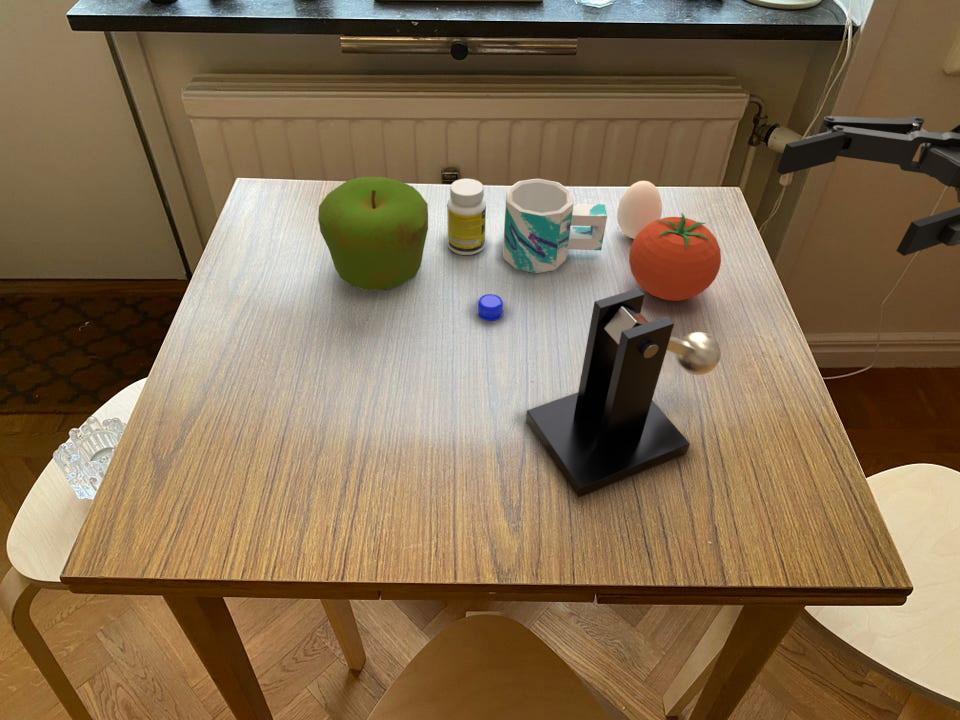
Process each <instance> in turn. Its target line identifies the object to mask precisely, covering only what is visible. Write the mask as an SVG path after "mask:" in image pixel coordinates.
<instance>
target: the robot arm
mask: <svg viewBox="0 0 960 720" xmlns="http://www.w3.org/2000/svg"><path fill="white" fill-rule="evenodd" d="M925 121H926V120H925V119H924V118H923V117H922V116H919V115H917V116H916V115H914V116H907V117H899V118H898V117H896V118H895V117H894V118H893V117H870V116H869V117H867V116H840V115H839V116H838V115H837V116H835V115H826V116H824V117H823V119H822V121H821V123H820V127H819V129H818V132H817V133H816V134H813V135H809V136H806V137H804V139H800V140H796V141H791V142H787V143H785V146H784V148H783V151H782V154H781V156H780V160H779V162H778V165H777V169H776V172H777V173H778V174H780V175H782V176H784V175H788V174H791V173H795V172H798V171H803V170H807V169H810V168H814V167H818V166H822V165H826V164H829V163H833V162H836V159H837V157H841V158H848V159H856V160H863V161H869V162H877V163H883V164H890V165H898V166H899V168H900V170H901V171H904V172H911V173H919V174H925V175H927V176H928V177H930V178H934V179H936V180H937V181H938V182H939V183H941V184H942V185H945V186H946V187H949V188H950V187H952V188H954V191H955V192H956V199H957V203H960V123H959V124H958V125H956V126H955V127H953V128H952V129H950V131H933V132H930V131H927V130H926V129H925V128H923V126H924V123H925ZM920 146H921V147H920ZM919 148H920V151H919V156H918V160H916V161H915V160H914V158H915V156H916V154H917V152H918V150H919ZM941 244H943V245H945V246H947V247H955V246H958V245H960V206H958V207H955V208H952V209H948V210H945V211H942V212H939V213H936V214H932V215H929V216H926V217H923V218H919V219H916V220H913V221H911V223H910V224H909V225H908V228H907V230H906V231H905V233H904V235H903V237H902V239H901V241H900V243H899V244H898V246H897V248H896V252H897V253H898V254H900V255H902V256H903V257H905V256H909V255H911V254H914V253H917V252H920V251H924V250H926V249H929V248H933V247H935V246H938V245H941Z"/></svg>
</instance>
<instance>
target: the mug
mask: <svg viewBox="0 0 960 720" xmlns="http://www.w3.org/2000/svg"><path fill="white" fill-rule="evenodd" d="M607 219H608V214H607V209H606V204H599V203H595V204H594V203H574V197H573V191H572V190H571V189H569V188H568V187H566V186H564V185H563V184H561V183H560V182H558V181H552V180H549V179H542V178H532V179H524V180H519V181H517V182H515V183H514V184H513V185H511V186H510V187H508V188H507V189H506V192H505V209H504V224H503V228H504V229H503V241H502V243H503V244H502V254H503V255H502V257H503V258H502V259H503V260H504V261H506V262H507V264H509V265H510V266H511V267H513V269H515V270H517V271H523V272H527V273H533V274H540V273H546V272H553V271H556V270H557V269H559V267H561V266H562V264H564V263H565V262H566V261H567V255H568V250H570V251H573V250H574V251H602V248H603V242H604V237H605V233H606V232H605V231H606V227H607V221H608V220H607Z"/></svg>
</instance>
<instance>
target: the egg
mask: <svg viewBox="0 0 960 720" xmlns="http://www.w3.org/2000/svg"><path fill="white" fill-rule="evenodd" d="M658 189H659V188H657V186H656V185H655V184H654V183H652V182H650V181H648V180H639V181H637V182H634V183H632V184H631V185H630V186H629V187H628V188H627V189H626V191H625V192H624V193H623V194H622V196H621V198H620V200H619V203H618V207H617V210H616V220H617V224H618V227H619V229H620V230H621V232H622V233H623V234H624V235H625V236H626V237H628V238H630V239H632V240H634V239H635V237H636V236H637V234H638V233H639V232H640V231H641V230H642V229H643V228H644V227H645V226H646V225H648V224H649V223H651V222H653V221H655V220H659V219H662V214H663V213H662V212H663V202H662V198H661V194H660V191H659V190H658Z"/></svg>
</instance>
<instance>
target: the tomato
mask: <svg viewBox="0 0 960 720" xmlns="http://www.w3.org/2000/svg"><path fill="white" fill-rule="evenodd" d="M705 224H706V222H700V221H696V220H695V219H692V218H691V219H690V218H687V217H686V216H685V215H684V213H683V212H681V216H666V217H661V218H660V219H659V220H655V221H653V222H651V223H649V224H648V225H646V226H645V227H644V228H643V229H642V230H641V231H640V232H639V233H638V234H637V236H636V237H635V239H633V241H632V242H631V246H630V249H629V256H628V257H629V258H628V262H629V267H630V268H629V269H630V272H631V274H632V276H633V278H634V280H635V282H636V283H637V284H638V285H639V287H641V288H642V290H644V291H645V292H646V293H648V294H650V295H651V296H652V297H655V298H658V299H662V300H664V301H677V302H678V301H684V300H688V299H691V298H694V297H696V296H698V295H700V294H702V293H703V292H705V291H706V290H707V289H708V288H709V287H710V286H711V285H712V284H713V283H714V281H715V280H716V278H717V276H718V274H719V271H720V269H721V263H722V253H721V248H720V245H719V242H718V240H717V237H716V236H715V235H714V233H712V231H711V230H710V229H709V228H707V226H705Z"/></svg>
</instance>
